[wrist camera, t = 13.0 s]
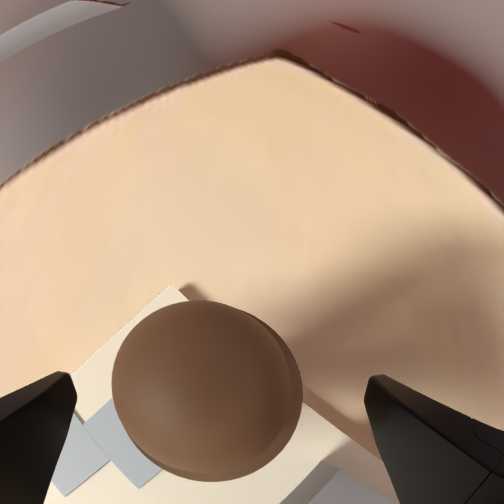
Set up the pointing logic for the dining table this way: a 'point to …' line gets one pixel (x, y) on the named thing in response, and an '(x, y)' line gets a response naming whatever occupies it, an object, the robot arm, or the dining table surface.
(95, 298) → the dining table surface
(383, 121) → the dining table surface
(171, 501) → the game board
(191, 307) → the pawn
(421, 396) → the robot arm
